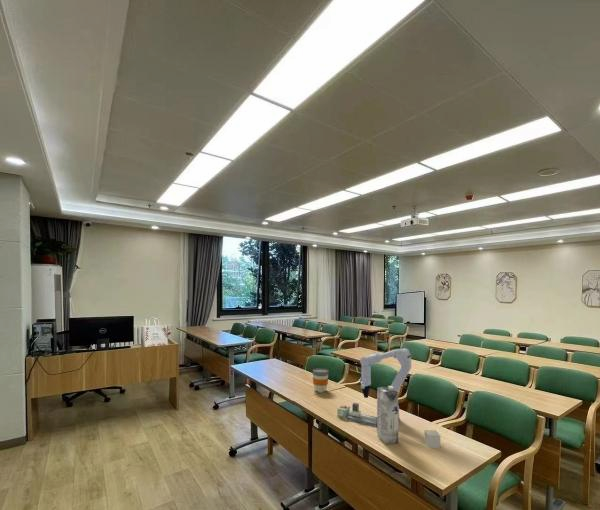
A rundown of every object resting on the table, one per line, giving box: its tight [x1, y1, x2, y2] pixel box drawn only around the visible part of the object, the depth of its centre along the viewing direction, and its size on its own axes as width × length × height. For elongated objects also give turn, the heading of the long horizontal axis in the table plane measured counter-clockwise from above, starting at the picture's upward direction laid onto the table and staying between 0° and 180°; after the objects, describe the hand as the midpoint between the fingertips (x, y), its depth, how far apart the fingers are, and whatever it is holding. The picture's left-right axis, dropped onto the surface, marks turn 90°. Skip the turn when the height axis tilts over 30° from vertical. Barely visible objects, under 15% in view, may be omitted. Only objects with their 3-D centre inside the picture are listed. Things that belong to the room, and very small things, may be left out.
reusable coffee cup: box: [312, 368, 330, 393], centre depth 247 cm, size 13×13×15 cm
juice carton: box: [376, 385, 399, 445], centre depth 168 cm, size 9×10×27 cm
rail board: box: [344, 411, 377, 427], centre depth 192 cm, size 18×10×3 cm, turn 61°
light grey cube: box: [423, 429, 442, 449], centre depth 163 cm, size 6×6×6 cm
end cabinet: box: [336, 404, 351, 419], centre depth 198 cm, size 5×8×5 cm, turn 151°
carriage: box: [350, 402, 362, 417], centre depth 195 cm, size 5×4×7 cm
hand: (366, 397), depth 204 cm, fingers closed
